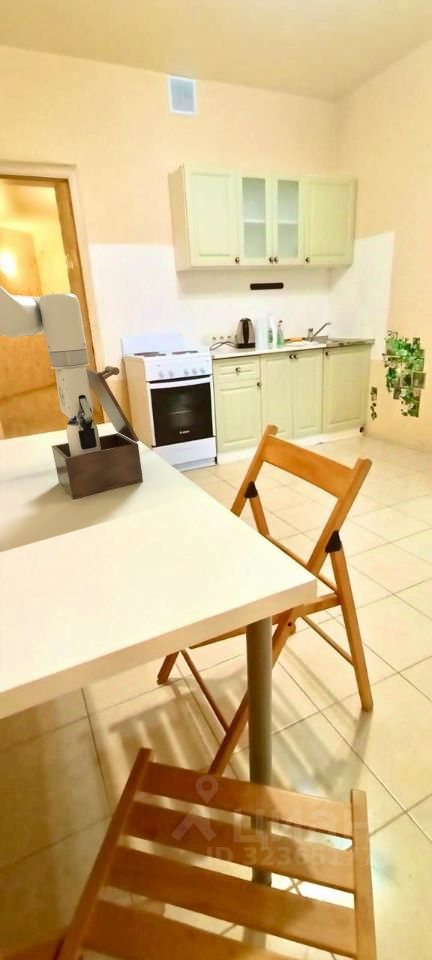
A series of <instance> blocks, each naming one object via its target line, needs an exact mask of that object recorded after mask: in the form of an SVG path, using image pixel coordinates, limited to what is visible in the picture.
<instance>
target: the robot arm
mask: <svg viewBox="0 0 432 960" xmlns="http://www.w3.org/2000/svg"><path fill="white" fill-rule="evenodd" d="M80 304H81V303H80V300H79V298H78V297H77V295H75V294H74V293H68V292H67V293H66V292H65V293H64V292H63V293H49V294H44V295H42V296H35V295H33V296H32V295H21V294H10V293H9V292H8V291H7V290H6V289H4V288H3V287H2V286H1V285H0V336H3V337H5V338H11V339H12V338H22V337H32V336H33V337H34V336H40V335H43V334H44V338H45V342H46V347H47V352H48V357H49V362H50V363H49V364H50V368H51V370H54V371H55V381H56V388H57V396H58V403H59V408H60V412H61V413H62V414H63V415H65V416H67V417H68V422H70V421H73V420H77V422H78V426H79V429H80V431H78V433H79V439H80V444H81V448H82V449H83V450H85V449H90V448H94V447H97V443H96V437H95V431H94V425H93V421H92V419H93V414H94V413H95V409H94V401H93V395H92V389H91V387H90V385H89V380H88V375H87V371H86V369H87V368H86V367H90V365H91V364H90V360H89V359H90V358H89V352H88V347H87V340H86V334H85V328H84V323H83V316H82V315H83V314H82V309H81V305H80ZM81 419H83V420H82V422H81Z"/></svg>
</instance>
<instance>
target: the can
mask: <svg viewBox="0 0 432 960" xmlns="http://www.w3.org/2000/svg"><path fill="white" fill-rule="evenodd" d="M82 420H83V419H81V422H82ZM92 421H93V425H94V431H95V437H96V443H97V447H94V448H90V449H85V450H83V449H82V448H81V444H80V439H79V433H78V431H80V429H79V426H78V422H77V420H73V421H70V422H69V421H68V422H66V425H67V427H66V436H67V443H69V448H70V454H71V457H72V456H77V455H82V454H86V453H91V452H96V451H101V446H100V440H99V437H100V435H99V428H98V426H97V424H96V423H95V419H93V418H92Z"/></svg>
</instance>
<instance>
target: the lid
mask: <svg viewBox="0 0 432 960" xmlns="http://www.w3.org/2000/svg"><path fill="white" fill-rule="evenodd" d="M86 371H87V375H88V380H89V385H90V389H91V391H92V392H93V394H94V395H95V397H96V399H97V401H98V402H99V404H100V405H101V408H102V409H103V411H104V412H105V414H106V416H107V418H108V419H109V421H110V422H111V424H112V426H113V428H114V430H115V431H116V433H119V434H121V435H123V436H125V437H127V438H129V439H130V440H132V441H134V442H136V443H138V442H139V441H140V439H139V437H138V436H137V434H136V432H135V430H134V429H133V426H132V425H131V424H130V422H129V420H128V418H127V416H126V414H125V413H124V411H123V409H122V407H121V405H120V403H119V402H118V400H117V398H116V397H115V395H114V393H113V392H112V390H111V388H110V386H109V384H108V383H107V379H108V378H111V377H112V376H118V375H119V374H120V369H119V368H118V367H116V366H113V365H112V366H111V365H106V366H105V368H104V370H103V371H97V370H93V369H89V368H86Z"/></svg>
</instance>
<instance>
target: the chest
mask: <svg viewBox="0 0 432 960" xmlns="http://www.w3.org/2000/svg"><path fill="white" fill-rule="evenodd" d="M99 440H100V446H101V451H96V452H91V453H86V454H82V455H77V456H72V457H71V454H70V448H69V443H68V442H65V443H60V444H55V445H51V450H52V455H53V459H54V466H55V469H56V475H57V480H58V483H59V484H60V485H61V487H62V488H63V489H64V490H65V491H66V493H67V494H68V495H69V496H70V498H71V499H72V500H75V499H79V498H84V497H88V496H92V495H96V494H100V493H104V492H107V491H112V490H115V489H119V488H123V487H126V486H131V485H134V484H139V483H142V482H144V479H143V471H142V463H141V455H140V447H139V443H138V442H135V441H133V440H131V439H129V438H127V437H126V436H124V435H122V434H120V433H118V432H116V433H110V434H106V435H99Z"/></svg>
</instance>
